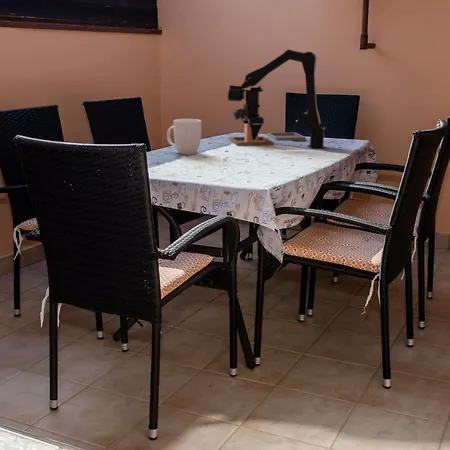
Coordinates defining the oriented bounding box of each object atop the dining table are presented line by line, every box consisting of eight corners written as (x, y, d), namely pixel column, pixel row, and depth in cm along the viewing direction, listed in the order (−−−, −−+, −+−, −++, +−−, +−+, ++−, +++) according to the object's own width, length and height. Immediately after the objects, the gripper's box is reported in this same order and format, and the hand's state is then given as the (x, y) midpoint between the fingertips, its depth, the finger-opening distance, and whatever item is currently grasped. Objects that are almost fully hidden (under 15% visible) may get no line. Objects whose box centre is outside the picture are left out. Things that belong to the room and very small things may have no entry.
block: (258, 143, 284) (258, 125, 282) (246, 143, 283) (247, 125, 281) (255, 141, 289) (255, 123, 287) (244, 141, 288) (244, 123, 286)
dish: (273, 146, 280) (273, 141, 280) (237, 147, 277) (237, 142, 277) (264, 141, 295) (264, 136, 295) (229, 141, 292) (229, 137, 292)
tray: (305, 141, 297) (305, 137, 297) (275, 141, 294) (276, 137, 294) (295, 136, 312) (295, 132, 312) (266, 136, 309) (266, 132, 309)
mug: (160, 152, 260) (159, 120, 257) (174, 149, 269) (174, 117, 266) (192, 156, 254) (192, 122, 250) (206, 152, 263) (206, 119, 259)
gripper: (229, 100, 288) (229, 135, 293) (238, 104, 271) (237, 141, 275) (254, 100, 291) (253, 135, 295) (264, 104, 273) (263, 141, 277)
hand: (251, 138), depth 285 cm, fingers open, 9 cm apart
